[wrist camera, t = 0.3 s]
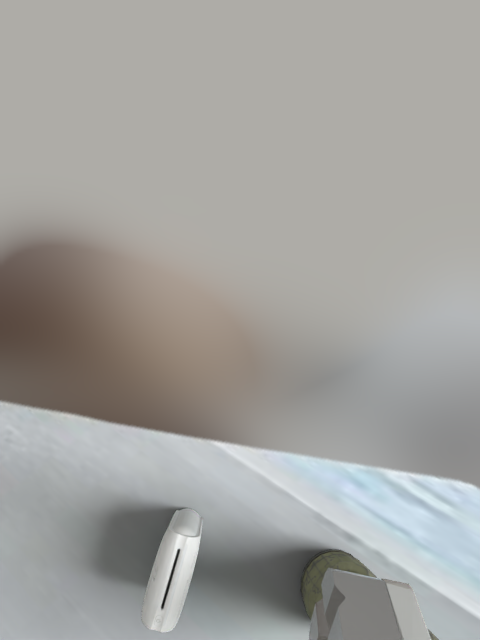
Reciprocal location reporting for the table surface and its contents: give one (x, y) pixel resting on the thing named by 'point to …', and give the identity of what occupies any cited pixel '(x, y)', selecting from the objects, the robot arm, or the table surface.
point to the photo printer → (172, 571)
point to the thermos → (317, 569)
